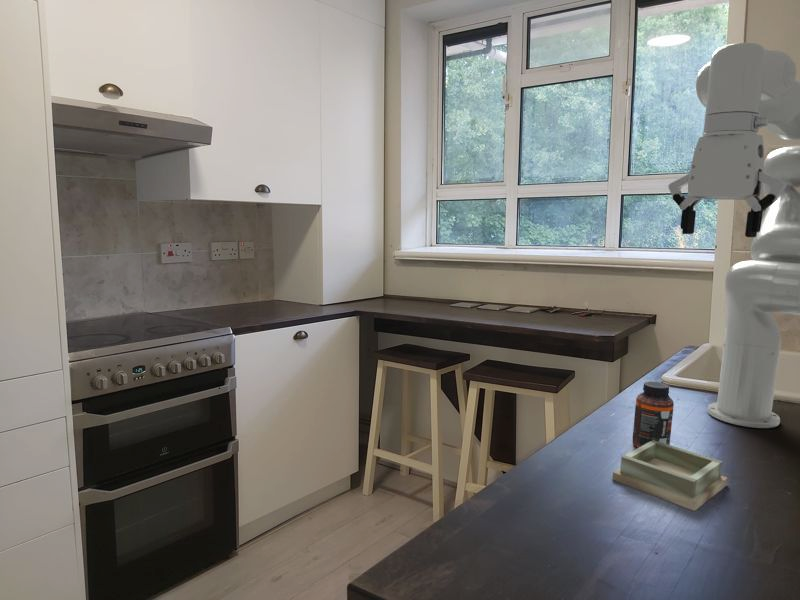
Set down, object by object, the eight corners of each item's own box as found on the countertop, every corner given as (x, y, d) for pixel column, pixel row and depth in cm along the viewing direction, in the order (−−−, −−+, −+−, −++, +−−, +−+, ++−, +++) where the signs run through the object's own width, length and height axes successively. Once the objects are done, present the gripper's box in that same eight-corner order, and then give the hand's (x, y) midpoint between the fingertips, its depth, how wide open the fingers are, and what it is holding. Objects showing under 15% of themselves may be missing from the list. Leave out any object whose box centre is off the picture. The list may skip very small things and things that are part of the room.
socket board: (648, 458, 96) (650, 437, 96) (726, 485, 88) (729, 461, 87) (612, 479, 88) (614, 456, 88) (694, 511, 80) (697, 485, 79)
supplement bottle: (672, 456, 98) (679, 391, 96) (635, 452, 99) (641, 387, 97) (664, 442, 104) (670, 380, 102) (629, 439, 105) (634, 378, 103)
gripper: (800, 126, 90) (785, 238, 92) (684, 134, 102) (674, 232, 105) (785, 120, 85) (770, 238, 87) (665, 129, 97) (655, 233, 100)
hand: (718, 235), depth 96 cm, fingers open, 9 cm apart
